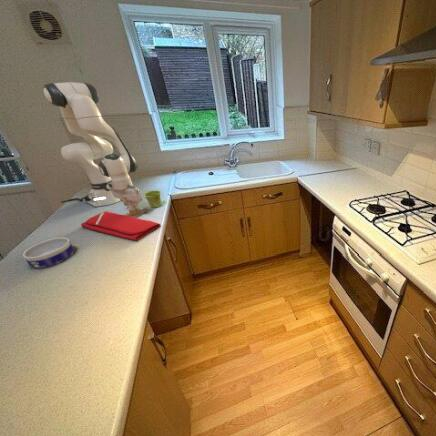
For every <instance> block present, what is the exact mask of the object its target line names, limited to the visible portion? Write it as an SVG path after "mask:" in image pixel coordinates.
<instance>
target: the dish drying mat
mask: <svg viewBox="0 0 436 436" xmlns="http://www.w3.org/2000/svg"><path fill="white" fill-rule="evenodd" d="M124 215H125V214H119V213H116V212H111V211H107V210H105V211H103V212H101V213H98V214H95V215H94V216H91V217H90V218H88V219H87V220H85V221H84V222H81V224H80V226H81V227H82V228H84V229H88V230H91V231H95V232H98V233H102V234H107V235H109V236H114V237H118V238H123V239H127V240H132V241H139V240H141V239H142V238H144V237H145V236H147V235H148V234H150V233H152V232H153V231H155V230H157V229H158V228H160V227H161V223H158V222H156V221H152V220H147V219H141V218H138V217H136V218H133V217H129V216H124Z"/></svg>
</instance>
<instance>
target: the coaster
mask: <svg viewBox="0 0 436 436" xmlns="http://www.w3.org/2000/svg"><path fill="white" fill-rule="evenodd" d="M137 210H138V212H139V213H138V214H135V215H130V212H129V211H128V213H125V214H123V215H124V216H129V217H133V218H138V217H139V216H142V215H144V214H146V213H147V211H146V210H141V209H137Z"/></svg>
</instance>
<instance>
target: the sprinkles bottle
mask: <svg viewBox="0 0 436 436" xmlns="http://www.w3.org/2000/svg"><path fill="white" fill-rule="evenodd" d="M122 195H123V197H124V199H125V202H126V205H127V206H126V207H127V210H128V213H129V212H130V215H135V214H138V213H139V212H138V210H139V209H138V208H134V203H133V201H128V200H127V199H126V195H125V194H122Z"/></svg>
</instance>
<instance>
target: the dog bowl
mask: <svg viewBox="0 0 436 436" xmlns="http://www.w3.org/2000/svg"><path fill="white" fill-rule="evenodd" d="M75 251H76V249H75V248H74V246H73V244H72V243H71V241H70V238H68V237H54V238H50V239H46V240H42V241H41V242H38V243H35V244H33V245H32V246H30V247H28V248H27V249H25V251H24V252H23V253H22V257H23V259H24V260H25V262H27V264H28V265H29V267H31V269H38V270H39V269H47V268H50V267H53V266H56V265H59V264H60V263H63V262H65V261H66V260H68V259H69V258H71V257H72V256H73V255H74V254H75Z"/></svg>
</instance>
